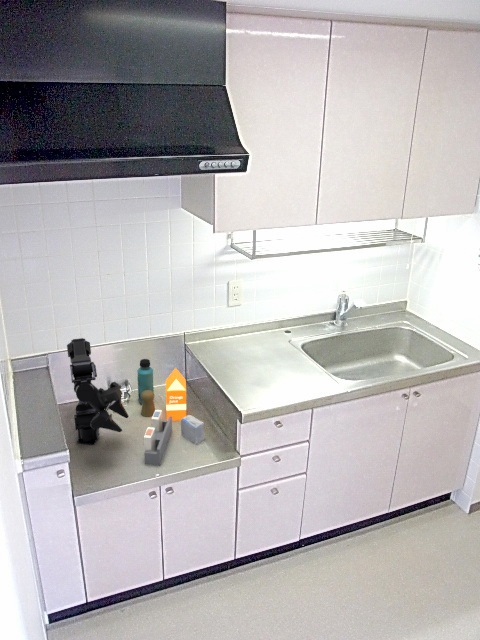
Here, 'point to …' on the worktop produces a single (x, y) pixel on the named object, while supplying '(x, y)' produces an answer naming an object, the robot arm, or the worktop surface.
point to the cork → (147, 403)
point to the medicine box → (192, 429)
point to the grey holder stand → (160, 444)
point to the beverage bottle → (144, 377)
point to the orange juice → (176, 395)
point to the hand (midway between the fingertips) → (124, 424)
